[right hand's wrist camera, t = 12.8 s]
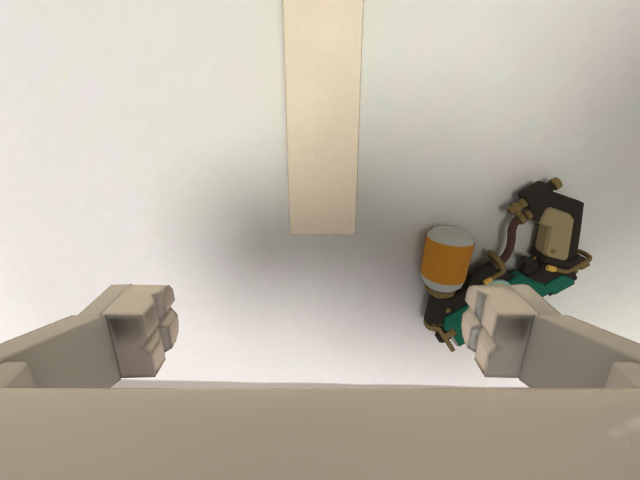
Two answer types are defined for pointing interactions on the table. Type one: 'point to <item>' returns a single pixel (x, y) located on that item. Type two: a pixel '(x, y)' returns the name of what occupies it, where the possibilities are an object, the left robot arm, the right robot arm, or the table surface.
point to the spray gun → (503, 258)
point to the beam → (322, 113)
